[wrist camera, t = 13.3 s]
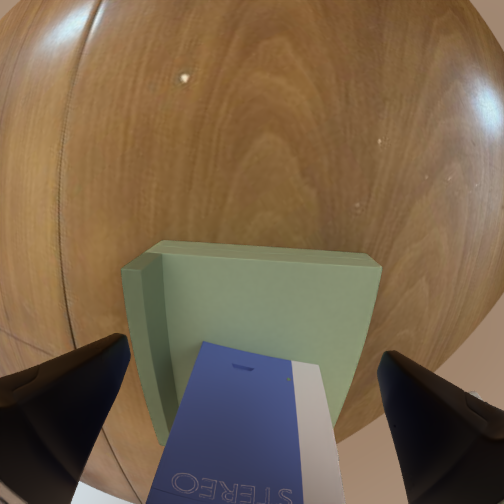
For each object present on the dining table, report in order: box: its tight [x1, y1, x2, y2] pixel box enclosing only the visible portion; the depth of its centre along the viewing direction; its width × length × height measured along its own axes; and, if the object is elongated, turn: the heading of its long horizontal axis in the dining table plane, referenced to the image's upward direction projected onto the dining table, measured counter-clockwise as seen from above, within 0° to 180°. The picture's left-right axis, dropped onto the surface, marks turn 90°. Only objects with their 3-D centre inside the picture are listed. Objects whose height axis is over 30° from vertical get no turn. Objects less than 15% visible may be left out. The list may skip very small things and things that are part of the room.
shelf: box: [121, 240, 382, 446], centre depth 17 cm, size 14×15×6 cm
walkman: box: [146, 341, 346, 504], centre depth 11 cm, size 8×3×12 cm, turn 76°
